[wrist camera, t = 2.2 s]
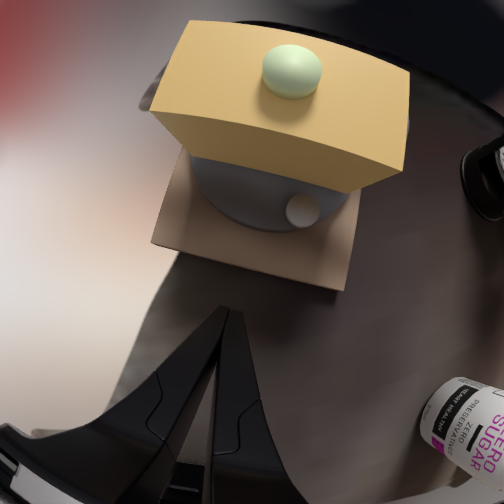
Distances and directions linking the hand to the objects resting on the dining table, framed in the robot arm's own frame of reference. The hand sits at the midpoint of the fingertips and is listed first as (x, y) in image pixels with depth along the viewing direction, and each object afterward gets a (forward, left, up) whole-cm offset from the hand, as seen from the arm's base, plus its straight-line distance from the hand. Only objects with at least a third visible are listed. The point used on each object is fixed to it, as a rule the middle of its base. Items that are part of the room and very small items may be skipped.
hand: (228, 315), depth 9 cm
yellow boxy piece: (+12, -2, -10) cm, 16 cm away
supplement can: (-12, -23, -14) cm, 30 cm away
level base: (+12, -2, -14) cm, 19 cm away
